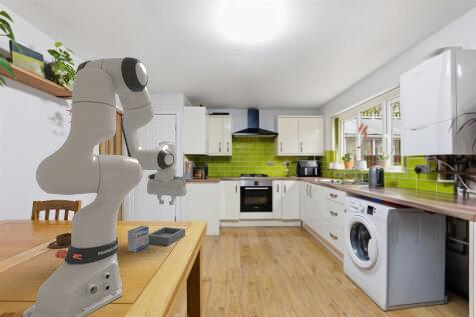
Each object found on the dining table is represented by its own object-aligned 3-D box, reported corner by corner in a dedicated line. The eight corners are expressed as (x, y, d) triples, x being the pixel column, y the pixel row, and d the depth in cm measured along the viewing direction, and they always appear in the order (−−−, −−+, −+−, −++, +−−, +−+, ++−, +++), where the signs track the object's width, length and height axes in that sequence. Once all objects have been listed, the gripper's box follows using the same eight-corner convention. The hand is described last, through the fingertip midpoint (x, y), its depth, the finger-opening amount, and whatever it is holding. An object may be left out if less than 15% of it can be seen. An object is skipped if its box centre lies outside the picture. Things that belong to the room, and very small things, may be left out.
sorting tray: (185, 235, 118) (185, 228, 118) (168, 245, 105) (168, 237, 105) (164, 233, 122) (164, 226, 122) (146, 242, 109) (146, 234, 109)
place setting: (89, 238, 116) (89, 226, 116) (88, 252, 99) (88, 238, 99) (43, 245, 107) (44, 232, 107) (34, 261, 90) (34, 246, 90)
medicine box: (136, 252, 97) (136, 231, 97) (127, 251, 99) (127, 230, 99) (149, 245, 105) (149, 226, 105) (140, 244, 106) (140, 225, 106)
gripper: (189, 176, 114) (188, 204, 114) (153, 174, 120) (153, 201, 120) (182, 177, 108) (181, 207, 108) (145, 175, 114) (144, 204, 114)
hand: (166, 204), depth 114 cm, fingers open, 4 cm apart
